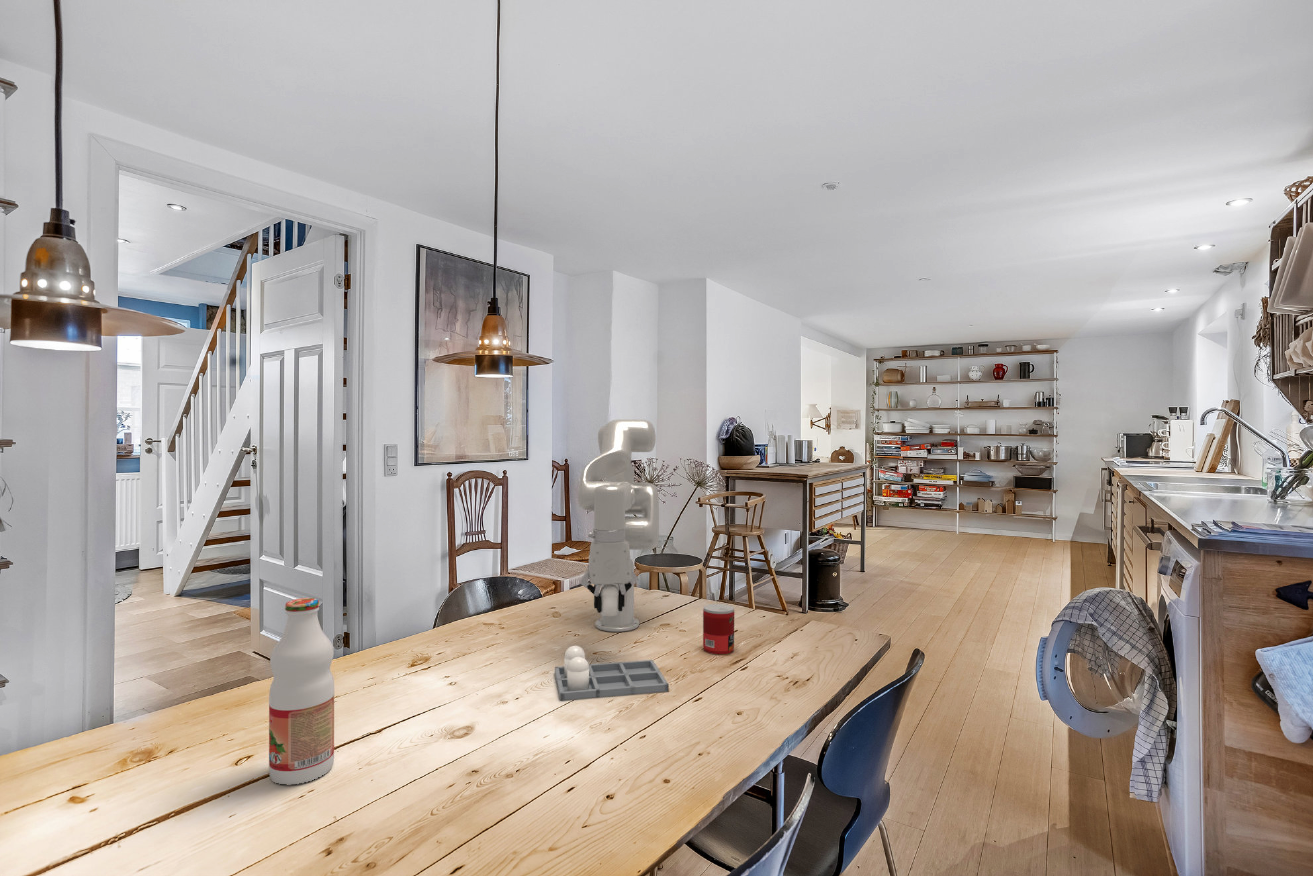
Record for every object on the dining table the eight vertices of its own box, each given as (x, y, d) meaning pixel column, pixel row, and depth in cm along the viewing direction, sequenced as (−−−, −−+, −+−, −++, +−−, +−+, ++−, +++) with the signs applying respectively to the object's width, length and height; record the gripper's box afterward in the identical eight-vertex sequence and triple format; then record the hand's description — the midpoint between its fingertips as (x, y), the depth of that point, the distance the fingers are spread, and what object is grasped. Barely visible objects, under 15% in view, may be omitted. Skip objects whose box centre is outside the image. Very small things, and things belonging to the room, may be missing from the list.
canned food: (735, 655, 164) (735, 611, 164) (703, 654, 165) (704, 611, 165) (732, 645, 172) (732, 603, 172) (702, 644, 172) (702, 603, 172)
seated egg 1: (563, 675, 148) (563, 643, 148) (583, 674, 150) (583, 642, 149) (565, 683, 144) (565, 650, 144) (586, 681, 145) (586, 648, 145)
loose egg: (598, 611, 161) (598, 582, 161) (616, 610, 162) (617, 581, 162) (601, 617, 156) (601, 586, 156) (620, 615, 158) (620, 585, 157)
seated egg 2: (566, 688, 141) (566, 654, 141) (587, 686, 142) (587, 653, 142) (568, 696, 137) (568, 661, 137) (590, 694, 138) (590, 660, 138)
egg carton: (554, 675, 150) (554, 667, 150) (652, 668, 155) (652, 659, 155) (560, 703, 135) (560, 693, 135) (668, 693, 140) (668, 684, 140)
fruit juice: (320, 785, 103) (320, 608, 103) (257, 788, 102) (257, 609, 102) (343, 756, 112) (343, 593, 112) (285, 758, 111) (285, 594, 111)
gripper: (576, 540, 153) (576, 617, 154) (646, 537, 157) (646, 612, 157) (573, 534, 161) (572, 608, 161) (640, 532, 164) (640, 604, 165)
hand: (609, 609), depth 159 cm, fingers closed on loose egg, 4 cm apart
